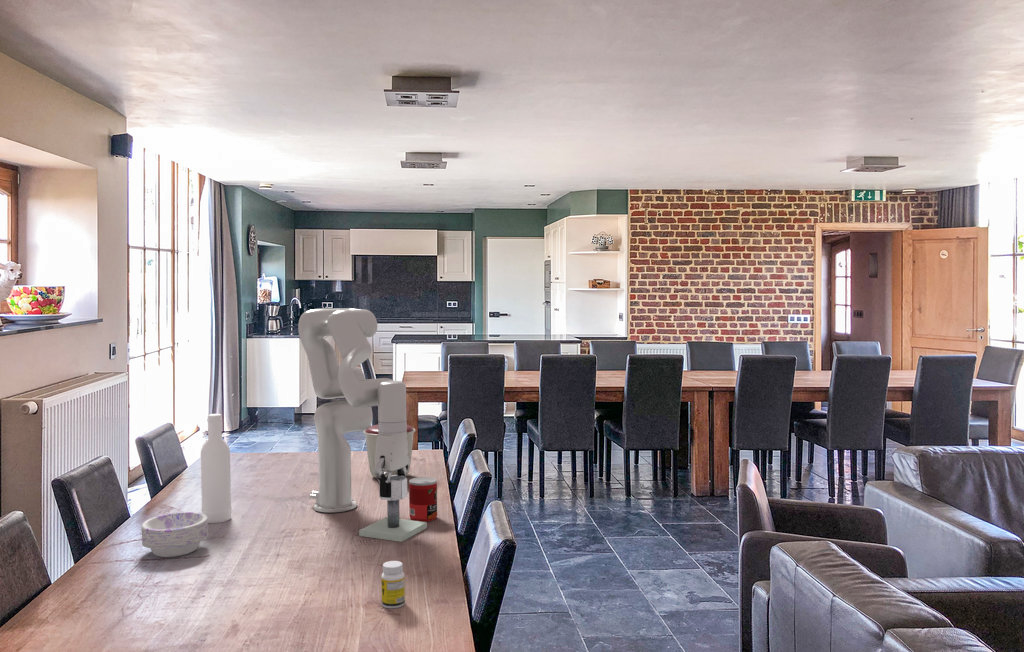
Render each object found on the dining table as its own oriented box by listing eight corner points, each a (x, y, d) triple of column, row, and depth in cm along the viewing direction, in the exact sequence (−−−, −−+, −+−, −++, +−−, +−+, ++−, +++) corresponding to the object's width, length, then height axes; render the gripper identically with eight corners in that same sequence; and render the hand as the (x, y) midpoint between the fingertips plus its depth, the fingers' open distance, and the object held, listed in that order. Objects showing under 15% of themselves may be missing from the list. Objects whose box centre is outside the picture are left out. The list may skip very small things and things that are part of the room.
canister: (426, 474, 272) (425, 415, 272) (392, 485, 257) (391, 422, 256) (387, 468, 282) (387, 411, 281) (352, 478, 267) (352, 418, 266)
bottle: (236, 519, 219) (234, 414, 218) (209, 525, 213) (207, 417, 212) (223, 513, 224) (221, 411, 223) (196, 519, 219) (194, 414, 218)
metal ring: (375, 498, 204) (374, 479, 204) (389, 492, 211) (388, 474, 210) (397, 501, 201) (397, 482, 201) (411, 494, 208) (411, 476, 208)
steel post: (385, 527, 205) (384, 501, 205) (391, 523, 208) (391, 498, 208) (395, 528, 204) (395, 502, 204) (401, 525, 207) (401, 499, 207)
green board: (359, 535, 203) (359, 530, 203) (386, 522, 215) (386, 517, 215) (401, 541, 198) (401, 536, 198) (426, 527, 210) (426, 522, 210)
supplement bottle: (382, 600, 160) (382, 560, 159) (405, 599, 160) (405, 559, 160) (380, 609, 155) (380, 568, 155) (404, 608, 155) (403, 567, 155)
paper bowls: (143, 565, 181) (142, 532, 181) (141, 547, 195) (140, 516, 195) (212, 555, 188) (211, 523, 188) (205, 538, 202) (204, 508, 202)
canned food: (432, 523, 214) (432, 483, 214) (405, 521, 216) (405, 482, 215) (440, 515, 222) (440, 477, 221) (414, 513, 223) (413, 476, 223)
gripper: (397, 421, 215) (398, 485, 215) (361, 432, 199) (363, 500, 199) (421, 423, 212) (421, 487, 212) (386, 433, 196) (387, 503, 196)
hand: (393, 493), depth 206 cm, fingers closed on metal ring, 7 cm apart
